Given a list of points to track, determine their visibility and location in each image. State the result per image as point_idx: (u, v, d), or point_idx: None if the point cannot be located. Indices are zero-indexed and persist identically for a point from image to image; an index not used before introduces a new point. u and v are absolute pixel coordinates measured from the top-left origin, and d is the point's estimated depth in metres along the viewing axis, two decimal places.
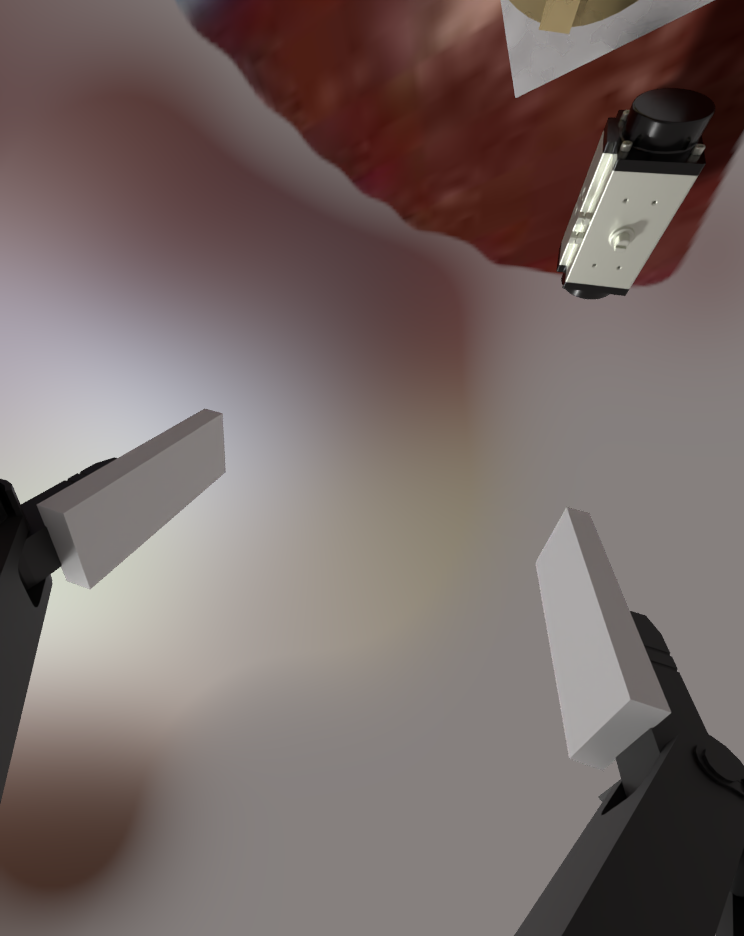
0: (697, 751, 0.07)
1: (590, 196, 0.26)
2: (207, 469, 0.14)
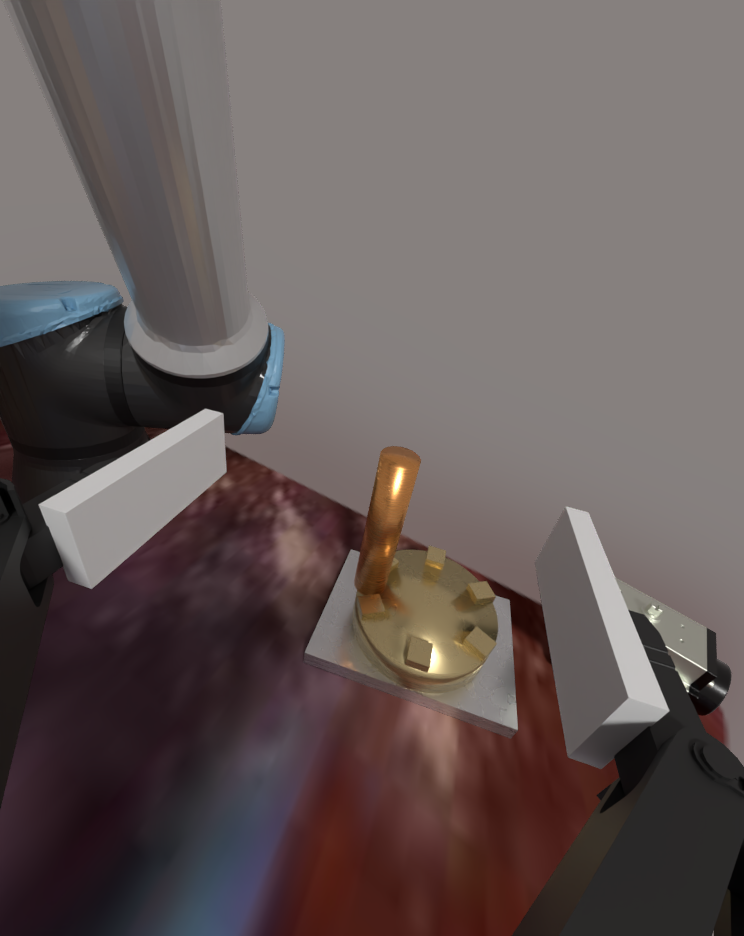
0: (695, 749, 0.07)
1: None
2: (208, 469, 0.14)
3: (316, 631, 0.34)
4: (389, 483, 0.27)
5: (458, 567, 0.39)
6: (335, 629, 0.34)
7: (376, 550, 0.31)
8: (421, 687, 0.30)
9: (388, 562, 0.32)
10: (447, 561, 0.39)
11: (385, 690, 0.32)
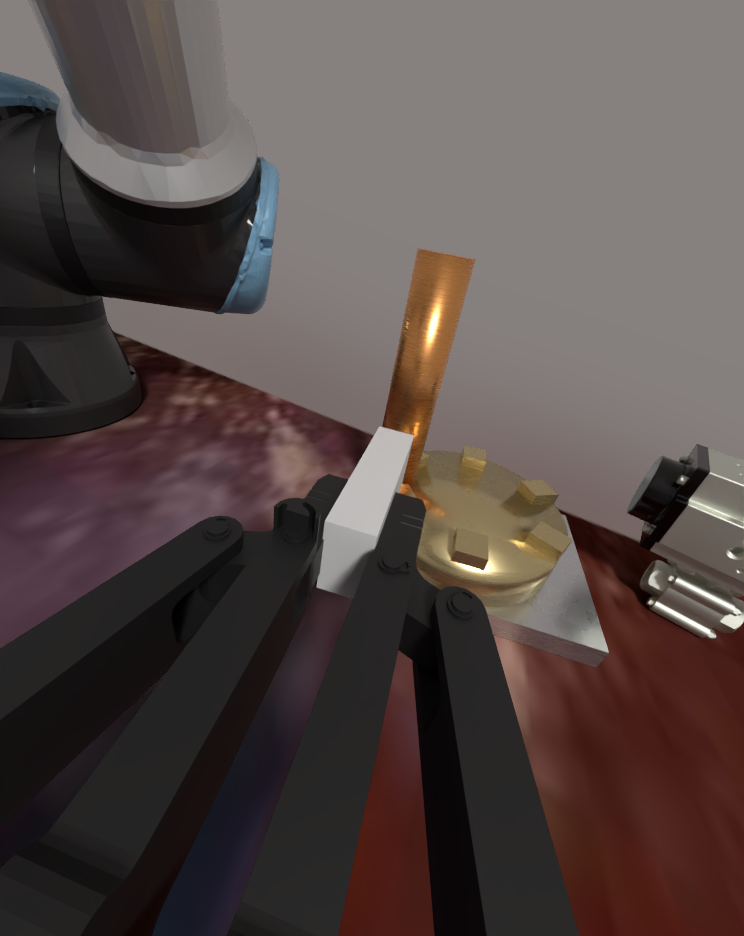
0: (379, 561, 0.09)
1: (740, 523, 0.21)
2: None
3: None
4: (431, 287, 0.19)
5: (503, 469, 0.30)
6: None
7: (407, 411, 0.22)
8: None
9: (422, 434, 0.24)
10: (488, 463, 0.31)
11: None
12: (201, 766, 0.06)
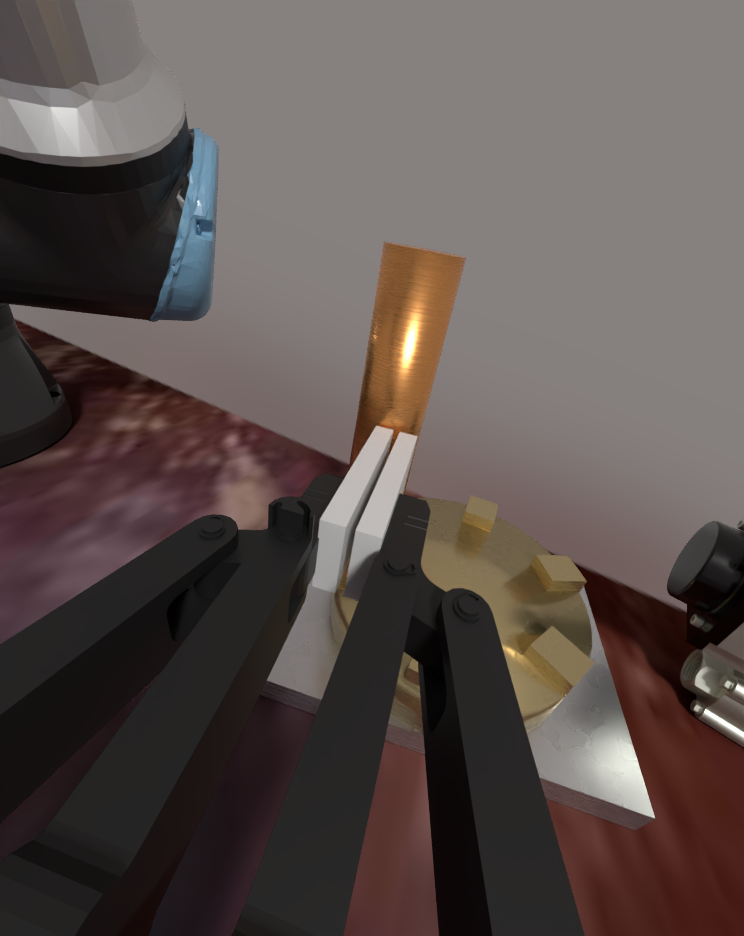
0: (385, 563, 0.09)
1: None
2: None
3: None
4: (396, 297, 0.13)
5: (518, 531, 0.24)
6: (298, 626, 0.19)
7: None
8: None
9: None
10: (499, 522, 0.24)
11: (390, 738, 0.17)
12: (197, 763, 0.06)
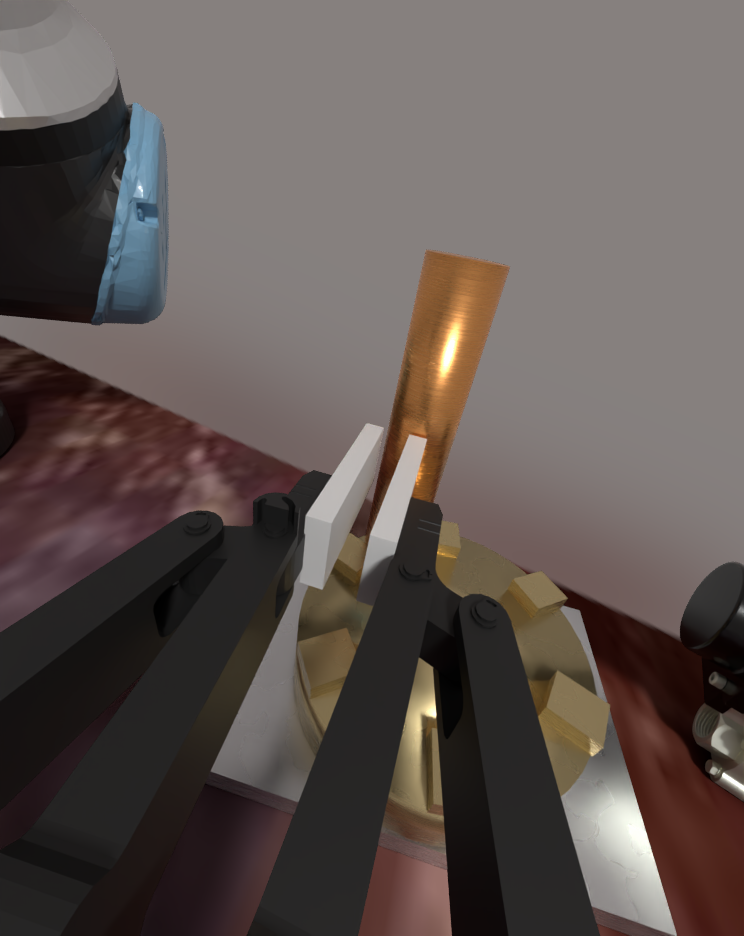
0: (400, 567, 0.09)
1: None
2: (369, 479, 0.16)
3: None
4: (418, 298, 0.14)
5: (574, 643, 0.17)
6: (255, 692, 0.16)
7: (386, 457, 0.17)
8: (307, 729, 0.15)
9: None
10: (559, 619, 0.18)
11: None
12: (186, 757, 0.06)
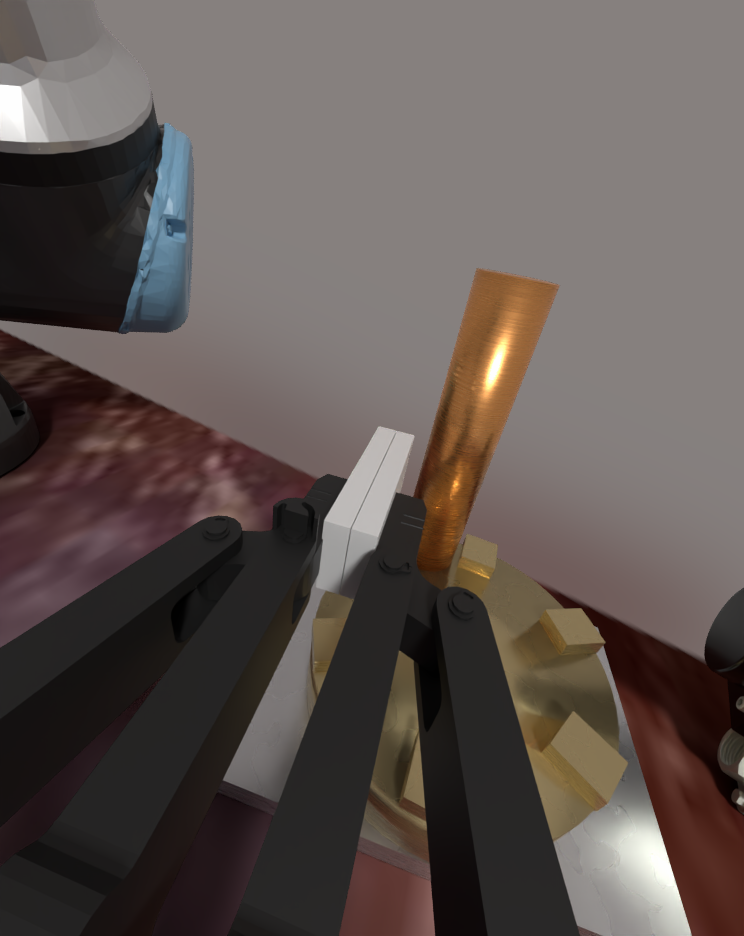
0: (380, 561, 0.09)
1: None
2: None
3: None
4: (465, 313, 0.14)
5: (604, 691, 0.16)
6: (268, 702, 0.16)
7: (425, 463, 0.18)
8: (310, 705, 0.16)
9: (436, 505, 0.18)
10: (592, 662, 0.17)
11: (373, 854, 0.14)
12: (200, 765, 0.06)
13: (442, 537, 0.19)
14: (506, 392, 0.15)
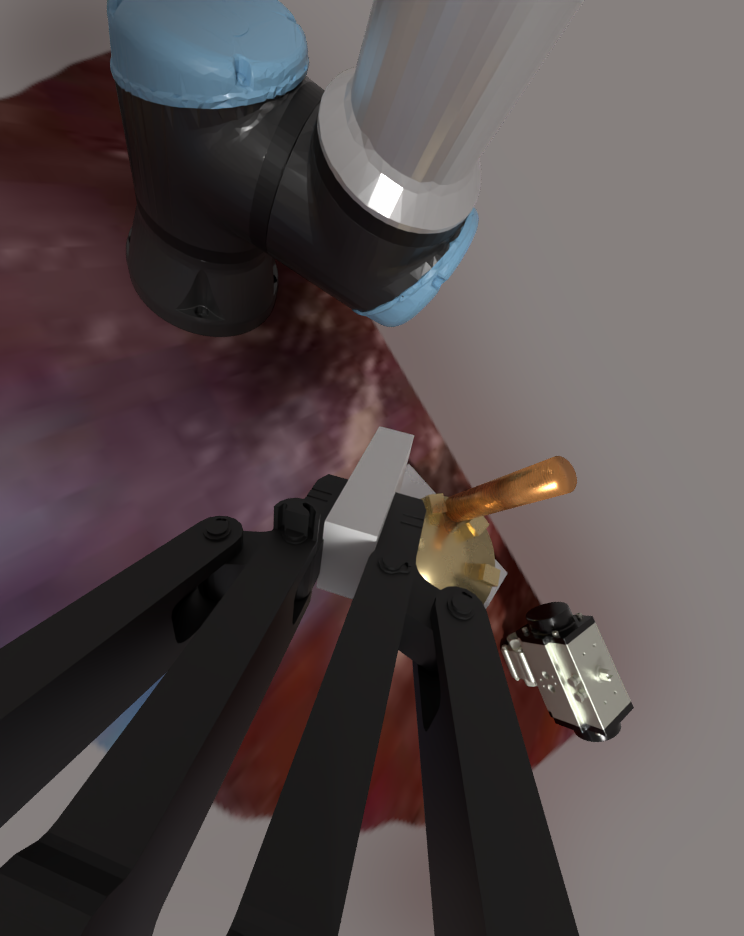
0: (379, 561, 0.09)
1: (558, 669, 0.36)
2: None
3: None
4: (533, 469, 0.30)
5: (483, 599, 0.40)
6: None
7: (478, 491, 0.36)
8: None
9: (471, 507, 0.37)
10: (487, 588, 0.40)
11: None
12: (201, 766, 0.06)
13: (465, 516, 0.39)
14: (526, 503, 0.32)
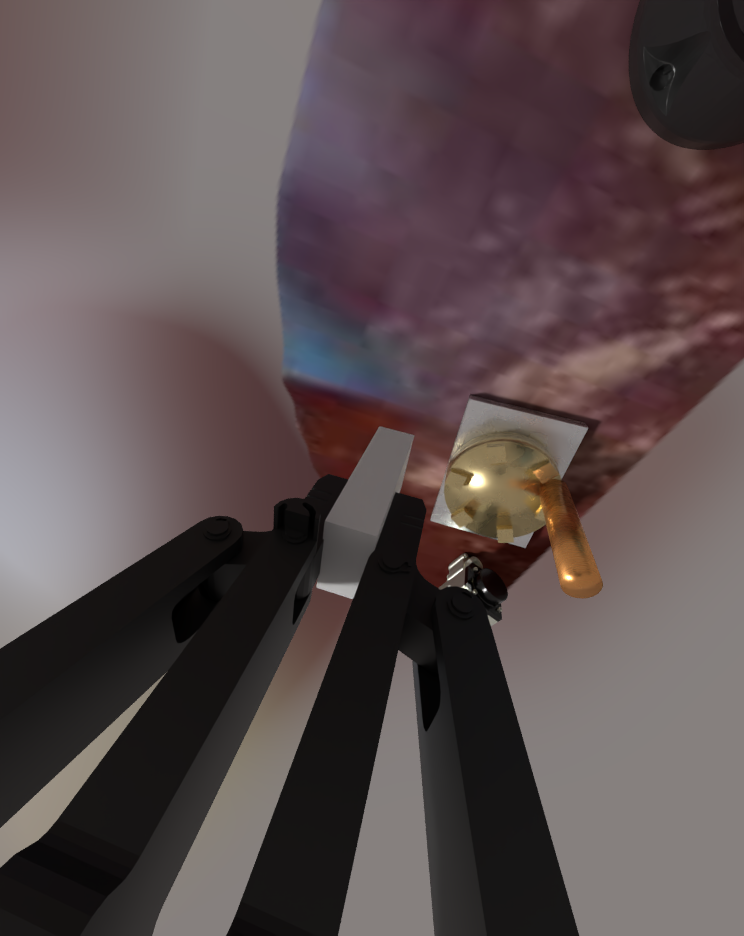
0: (379, 561, 0.09)
1: None
2: None
3: (487, 405, 0.42)
4: (580, 557, 0.31)
5: (483, 533, 0.47)
6: (490, 419, 0.43)
7: (562, 509, 0.36)
8: (485, 436, 0.43)
9: (546, 506, 0.38)
10: (493, 534, 0.47)
11: (452, 450, 0.47)
12: (201, 766, 0.06)
13: (541, 502, 0.40)
14: None
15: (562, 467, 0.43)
